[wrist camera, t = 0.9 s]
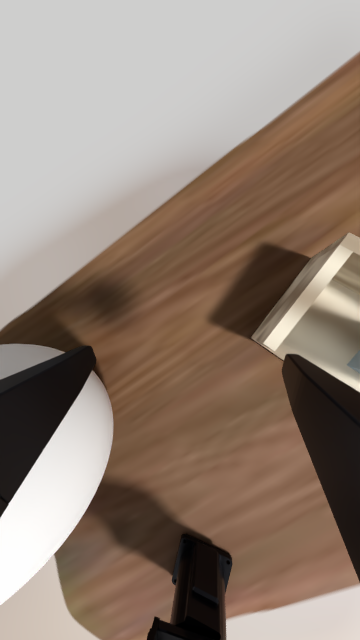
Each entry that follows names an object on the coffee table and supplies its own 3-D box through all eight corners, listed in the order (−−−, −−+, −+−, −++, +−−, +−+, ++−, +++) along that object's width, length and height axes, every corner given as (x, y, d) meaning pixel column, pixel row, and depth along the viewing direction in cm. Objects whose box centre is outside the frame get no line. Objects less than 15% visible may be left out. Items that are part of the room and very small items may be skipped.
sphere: (114, 316, 26) (-203, 300, 6) (162, 451, 24) (-69, 1003, 5) (14, 360, 29) (-391, 438, 10) (49, 480, 28) (-352, 861, 8)
